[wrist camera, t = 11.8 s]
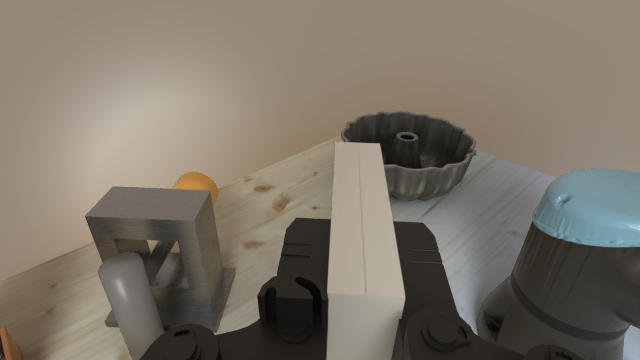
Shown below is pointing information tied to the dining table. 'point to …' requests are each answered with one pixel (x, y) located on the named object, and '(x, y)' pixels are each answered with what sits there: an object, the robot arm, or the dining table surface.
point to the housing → (179, 268)
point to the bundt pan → (415, 151)
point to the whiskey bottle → (8, 346)
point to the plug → (142, 282)
